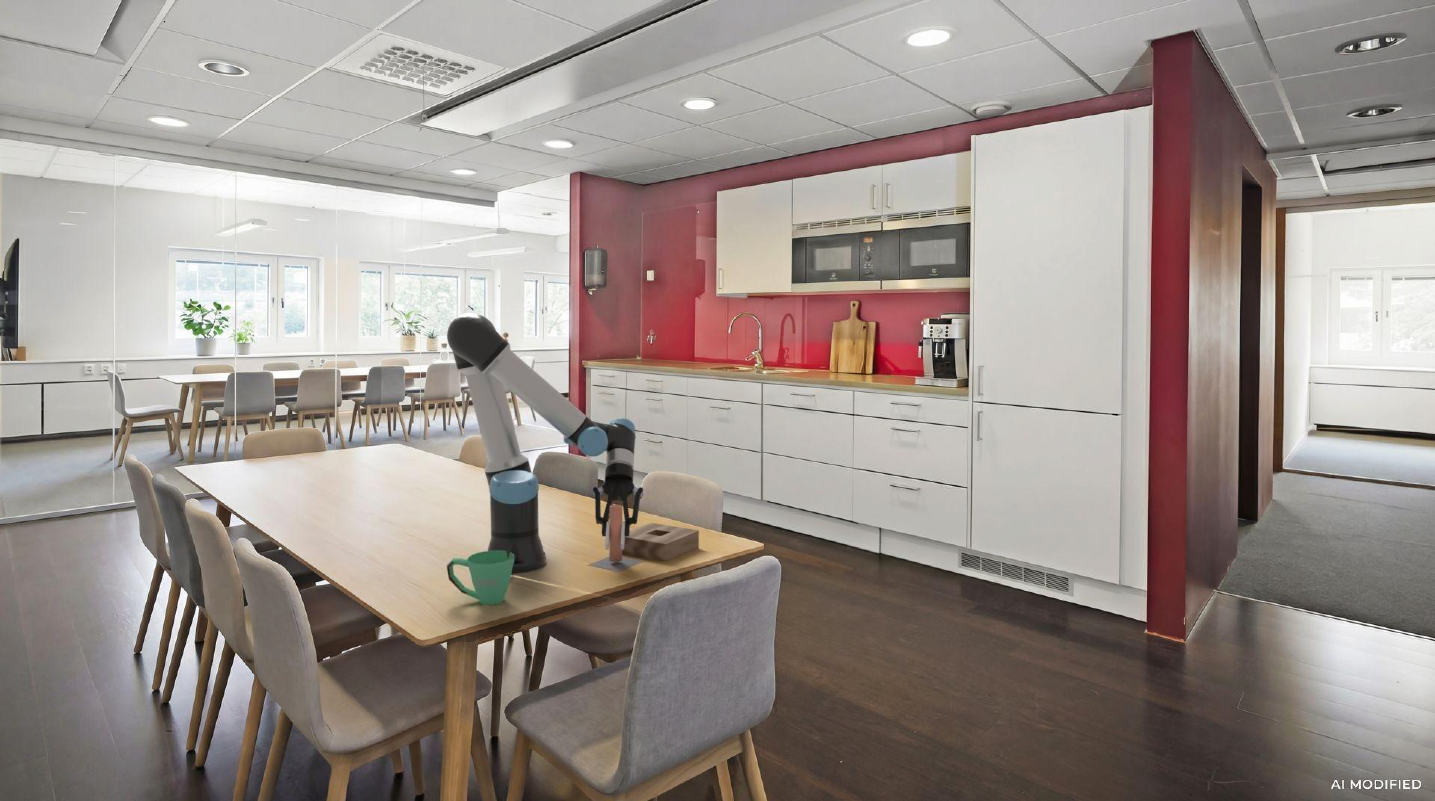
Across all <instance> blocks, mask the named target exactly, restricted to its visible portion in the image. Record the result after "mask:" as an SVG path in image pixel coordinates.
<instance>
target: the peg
mask: <svg viewBox="0 0 1435 801" xmlns="http://www.w3.org/2000/svg"><path fill="white" fill-rule="evenodd" d="M609 522H610V539H609V550H608V551H609V555H608V557H609V561H611V562H620V561H622V557H623V553H622V550H621V529H622V522H623V504H622V505H621V504H613V505H611V506H610V518H609Z"/></svg>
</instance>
